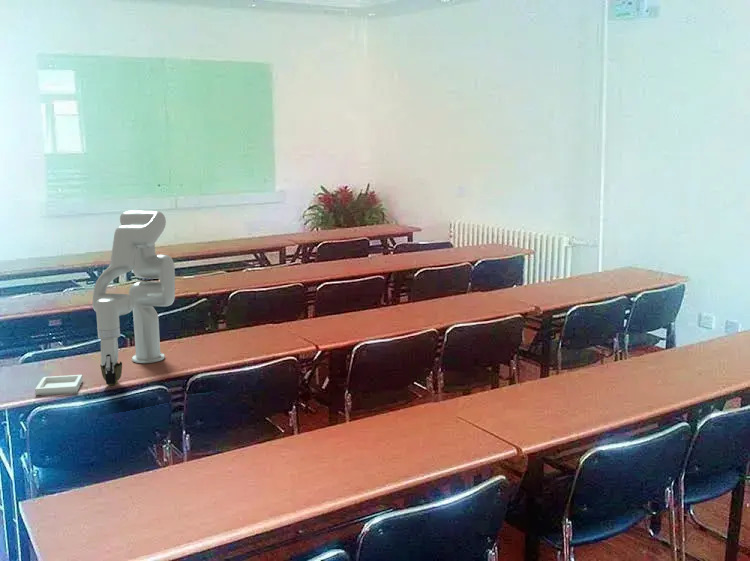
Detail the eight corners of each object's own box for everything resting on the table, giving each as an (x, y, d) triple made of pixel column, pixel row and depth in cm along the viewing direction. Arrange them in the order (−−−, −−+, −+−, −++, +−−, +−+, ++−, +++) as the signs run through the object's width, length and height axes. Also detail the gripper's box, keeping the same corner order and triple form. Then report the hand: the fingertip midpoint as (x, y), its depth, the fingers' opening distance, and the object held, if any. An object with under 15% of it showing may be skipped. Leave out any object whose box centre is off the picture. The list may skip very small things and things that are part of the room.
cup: (97, 386, 272) (95, 364, 270) (113, 380, 278) (111, 359, 277) (112, 389, 268) (110, 367, 267) (127, 383, 275) (126, 362, 273)
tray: (44, 383, 275) (43, 376, 274) (82, 381, 277) (82, 374, 277) (35, 395, 262) (34, 389, 261) (76, 393, 265) (75, 386, 264)
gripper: (101, 327, 277) (104, 373, 281) (94, 339, 260) (97, 389, 264) (122, 326, 279) (126, 372, 282) (116, 338, 262) (120, 387, 265)
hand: (112, 380), depth 273 cm, fingers open, 6 cm apart
